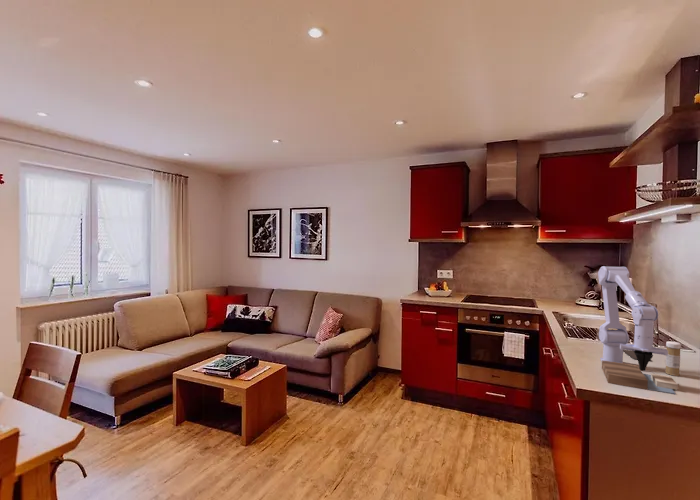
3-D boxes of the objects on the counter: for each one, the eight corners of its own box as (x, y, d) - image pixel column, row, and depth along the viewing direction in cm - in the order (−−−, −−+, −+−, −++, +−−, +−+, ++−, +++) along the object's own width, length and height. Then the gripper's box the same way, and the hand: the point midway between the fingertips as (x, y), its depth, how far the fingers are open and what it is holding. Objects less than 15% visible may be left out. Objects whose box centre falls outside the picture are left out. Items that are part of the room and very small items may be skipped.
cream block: (670, 376, 139) (670, 381, 139) (650, 373, 142) (650, 378, 142) (677, 384, 131) (677, 389, 131) (656, 381, 134) (656, 386, 134)
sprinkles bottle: (677, 373, 148) (678, 341, 148) (681, 377, 144) (683, 344, 144) (663, 371, 150) (664, 340, 150) (667, 375, 146) (668, 343, 146)
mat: (637, 373, 147) (637, 372, 147) (661, 377, 144) (661, 376, 144) (648, 389, 132) (648, 388, 132) (675, 394, 128) (675, 393, 128)
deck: (601, 368, 153) (602, 360, 153) (636, 373, 148) (636, 365, 147) (608, 382, 138) (608, 374, 138) (647, 389, 132) (647, 380, 132)
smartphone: (621, 351, 179) (633, 360, 165) (621, 349, 179) (633, 358, 165) (638, 352, 176) (652, 362, 162) (639, 351, 176) (653, 360, 162)
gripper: (622, 335, 139) (621, 369, 140) (670, 341, 132) (669, 377, 133) (619, 331, 145) (618, 364, 146) (665, 336, 138) (663, 371, 139)
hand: (642, 370), depth 140 cm, fingers closed
